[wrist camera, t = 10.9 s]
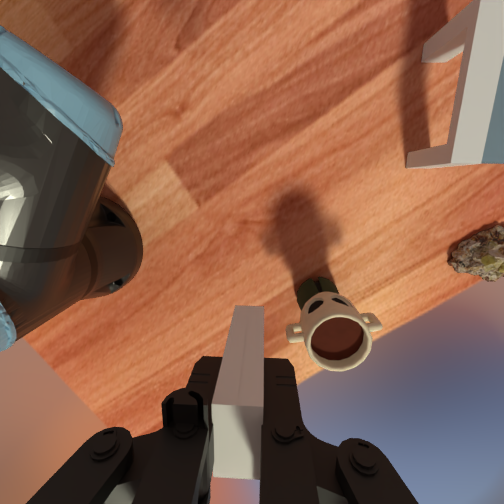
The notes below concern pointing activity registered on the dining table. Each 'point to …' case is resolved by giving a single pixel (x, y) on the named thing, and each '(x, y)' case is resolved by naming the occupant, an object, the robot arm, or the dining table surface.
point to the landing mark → (496, 126)
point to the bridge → (467, 82)
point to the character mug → (332, 327)
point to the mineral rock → (481, 255)
